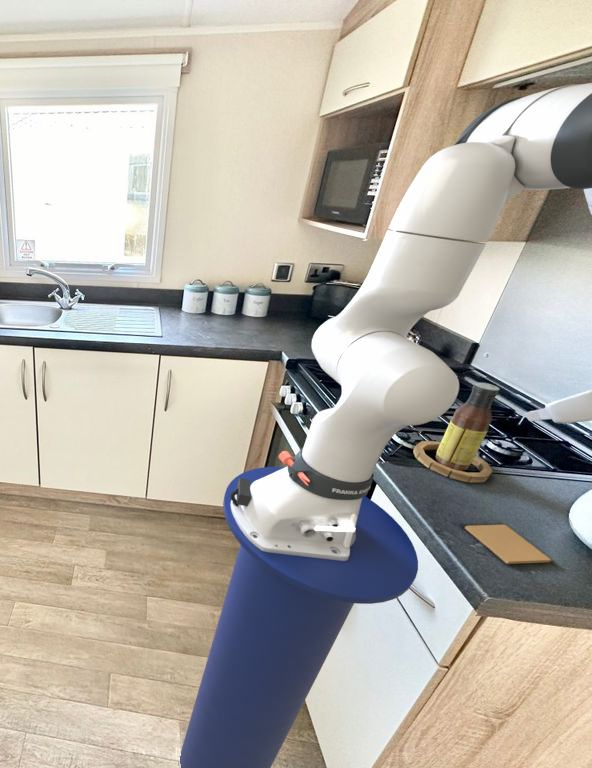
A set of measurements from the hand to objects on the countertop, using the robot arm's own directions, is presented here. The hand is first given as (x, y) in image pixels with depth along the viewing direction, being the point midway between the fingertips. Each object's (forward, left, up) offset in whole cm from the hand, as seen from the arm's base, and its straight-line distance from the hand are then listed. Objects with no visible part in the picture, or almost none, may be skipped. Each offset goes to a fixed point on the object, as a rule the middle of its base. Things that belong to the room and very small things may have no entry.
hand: (541, 412), depth 79 cm
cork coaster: (-14, -15, -18) cm, 27 cm away
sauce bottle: (-3, +8, -19) cm, 21 cm away
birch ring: (-3, +8, -18) cm, 20 cm away
